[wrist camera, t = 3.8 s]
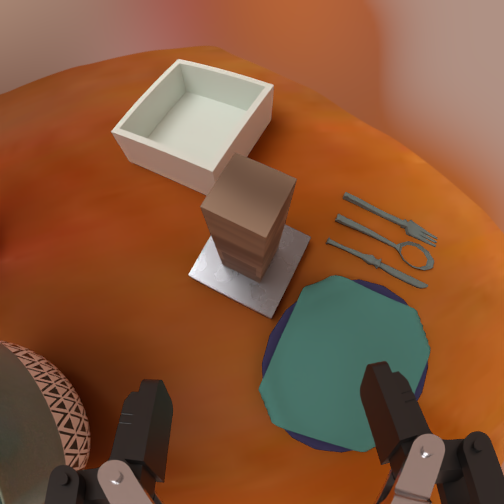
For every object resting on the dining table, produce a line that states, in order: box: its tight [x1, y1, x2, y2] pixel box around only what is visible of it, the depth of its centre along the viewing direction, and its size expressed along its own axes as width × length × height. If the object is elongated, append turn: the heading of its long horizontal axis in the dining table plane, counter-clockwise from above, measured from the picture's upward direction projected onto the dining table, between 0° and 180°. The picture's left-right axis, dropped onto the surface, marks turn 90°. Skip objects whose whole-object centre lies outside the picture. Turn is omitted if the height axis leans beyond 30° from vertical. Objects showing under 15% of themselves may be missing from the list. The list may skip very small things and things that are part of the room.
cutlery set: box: [259, 192, 437, 452], centre depth 32 cm, size 20×30×2 cm, turn 156°
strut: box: [200, 153, 297, 283], centre depth 26 cm, size 4×4×15 cm
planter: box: [0, 340, 91, 504], centre depth 19 cm, size 20×20×21 cm
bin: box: [111, 59, 274, 196], centre depth 36 cm, size 15×15×7 cm
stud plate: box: [189, 225, 311, 319], centre depth 32 cm, size 10×10×5 cm
